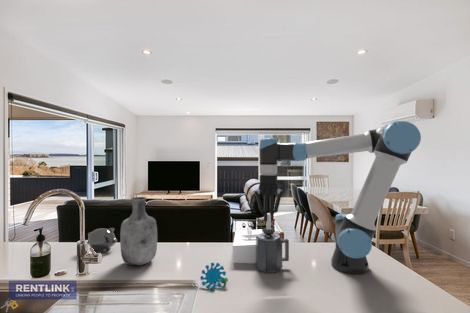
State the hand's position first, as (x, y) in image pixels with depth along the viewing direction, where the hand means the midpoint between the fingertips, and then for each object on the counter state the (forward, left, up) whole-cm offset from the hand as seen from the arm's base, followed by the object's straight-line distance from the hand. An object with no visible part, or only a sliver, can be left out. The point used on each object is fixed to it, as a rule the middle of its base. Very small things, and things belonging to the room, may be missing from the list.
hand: (268, 228), depth 115 cm
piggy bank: (+81, -30, -18) cm, 89 cm away
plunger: (0, 0, -14) cm, 14 cm away
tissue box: (+6, -18, -18) cm, 26 cm away
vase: (+58, -13, -18) cm, 62 cm away
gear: (+24, +12, -18) cm, 32 cm away
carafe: (-2, 0, -17) cm, 17 cm away
